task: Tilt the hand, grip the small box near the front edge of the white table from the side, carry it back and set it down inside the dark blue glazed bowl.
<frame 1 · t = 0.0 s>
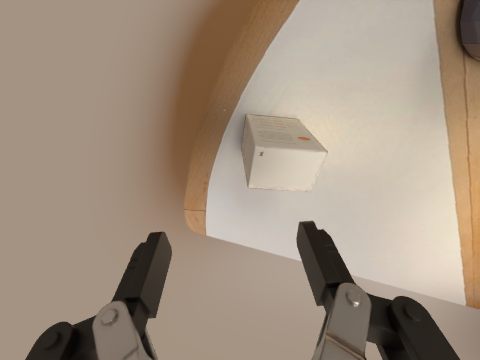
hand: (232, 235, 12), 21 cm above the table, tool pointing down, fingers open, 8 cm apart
small box: (268, 133, 30), on the table
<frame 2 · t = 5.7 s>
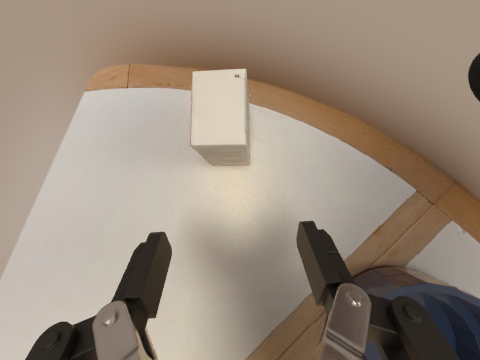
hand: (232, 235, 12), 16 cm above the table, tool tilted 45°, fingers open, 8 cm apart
small box: (231, 140, 30), on the table
glazed bowl: (395, 334, 25), on the table
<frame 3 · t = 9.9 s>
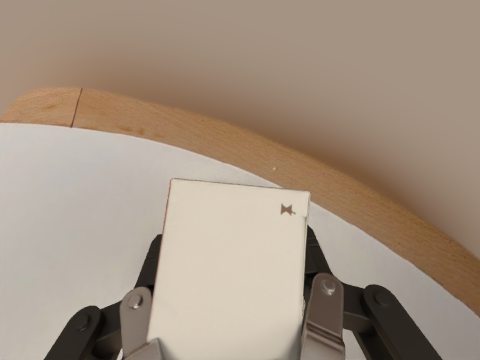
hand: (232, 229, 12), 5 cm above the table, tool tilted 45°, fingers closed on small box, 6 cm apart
small box: (236, 243, 18), on the table, touching gripper
when the fingers open (6 cm above the table, at t = 21.8 s): small box stays where it is, resting on glazed bowl.
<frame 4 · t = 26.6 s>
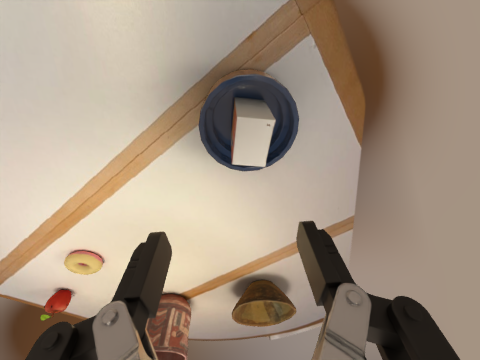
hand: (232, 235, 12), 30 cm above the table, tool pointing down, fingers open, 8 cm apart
apple: (65, 290, 72), on the table
pottery: (172, 300, 80), on the table
small box: (246, 119, 38), resting on glazed bowl
donut: (87, 257, 61), on the table
bowl: (260, 285, 77), on the table
glazed bowl: (246, 118, 38), on the table
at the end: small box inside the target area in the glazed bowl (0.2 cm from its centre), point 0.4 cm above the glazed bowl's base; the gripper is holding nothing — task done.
